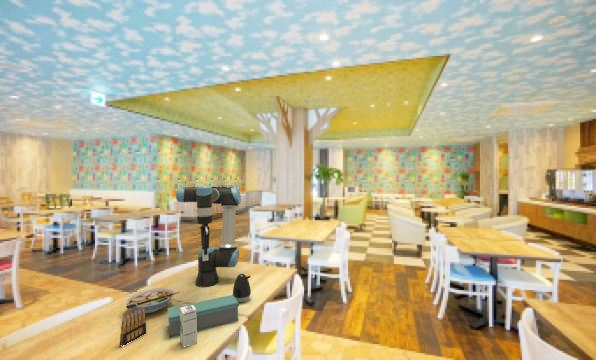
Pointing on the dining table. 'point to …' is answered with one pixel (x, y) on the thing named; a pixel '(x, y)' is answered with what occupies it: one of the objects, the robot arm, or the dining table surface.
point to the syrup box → (188, 325)
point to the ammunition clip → (133, 327)
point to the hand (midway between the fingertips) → (205, 260)
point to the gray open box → (208, 320)
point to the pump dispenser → (241, 288)
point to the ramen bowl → (150, 300)
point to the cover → (205, 307)
